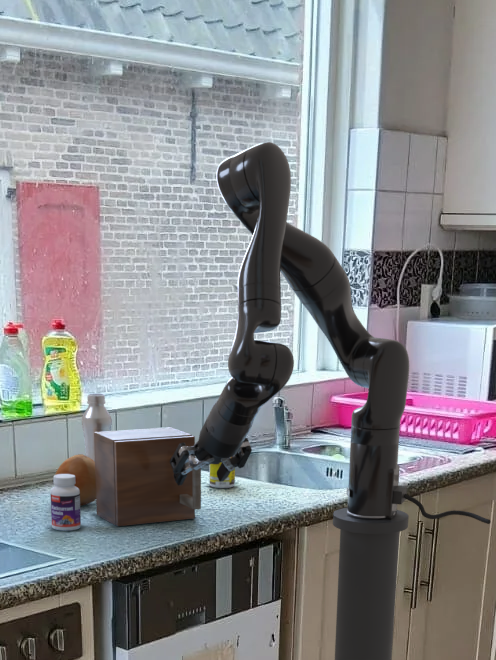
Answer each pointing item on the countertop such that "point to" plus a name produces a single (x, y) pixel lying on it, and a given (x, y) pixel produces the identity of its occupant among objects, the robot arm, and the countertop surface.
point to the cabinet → (107, 463)
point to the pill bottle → (65, 503)
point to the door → (153, 482)
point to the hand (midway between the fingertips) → (198, 479)
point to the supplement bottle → (215, 481)
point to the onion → (81, 476)
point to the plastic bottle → (95, 421)
